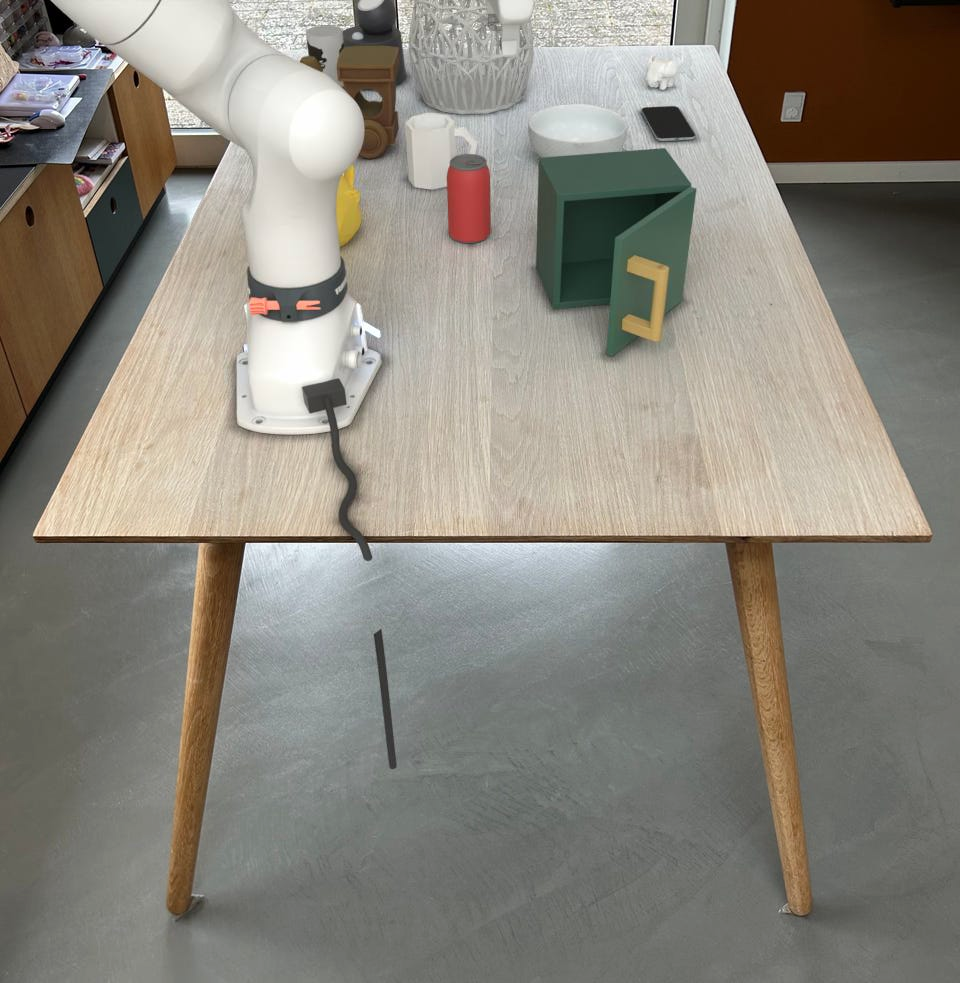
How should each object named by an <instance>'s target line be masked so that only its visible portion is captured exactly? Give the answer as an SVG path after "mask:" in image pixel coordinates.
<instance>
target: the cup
mask: <svg viewBox="0 0 960 983" xmlns="http://www.w3.org/2000/svg"><path fill="white" fill-rule="evenodd" d="M343 31H344V30H343V28H342V27H340V26H336V25H317V26H313V27H310V28H308V29H306V31H305V36H306V45H307V52H308V53H307V54H308V55H307V56H313V57H315V58H316V60H317V61H318V62H319V63H320V65H321V66H322V67H323V72H322V73H324V74H326V75H328V76H329V77H331V78H332V79H333V80H334V81H335V82H336V83H337V84H338V85H340V86H344V85H343V82H342V81H338V76H337V60H338V57H339V55H340V52H341V51H342V50H343V48H344V41H343Z"/></svg>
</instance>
